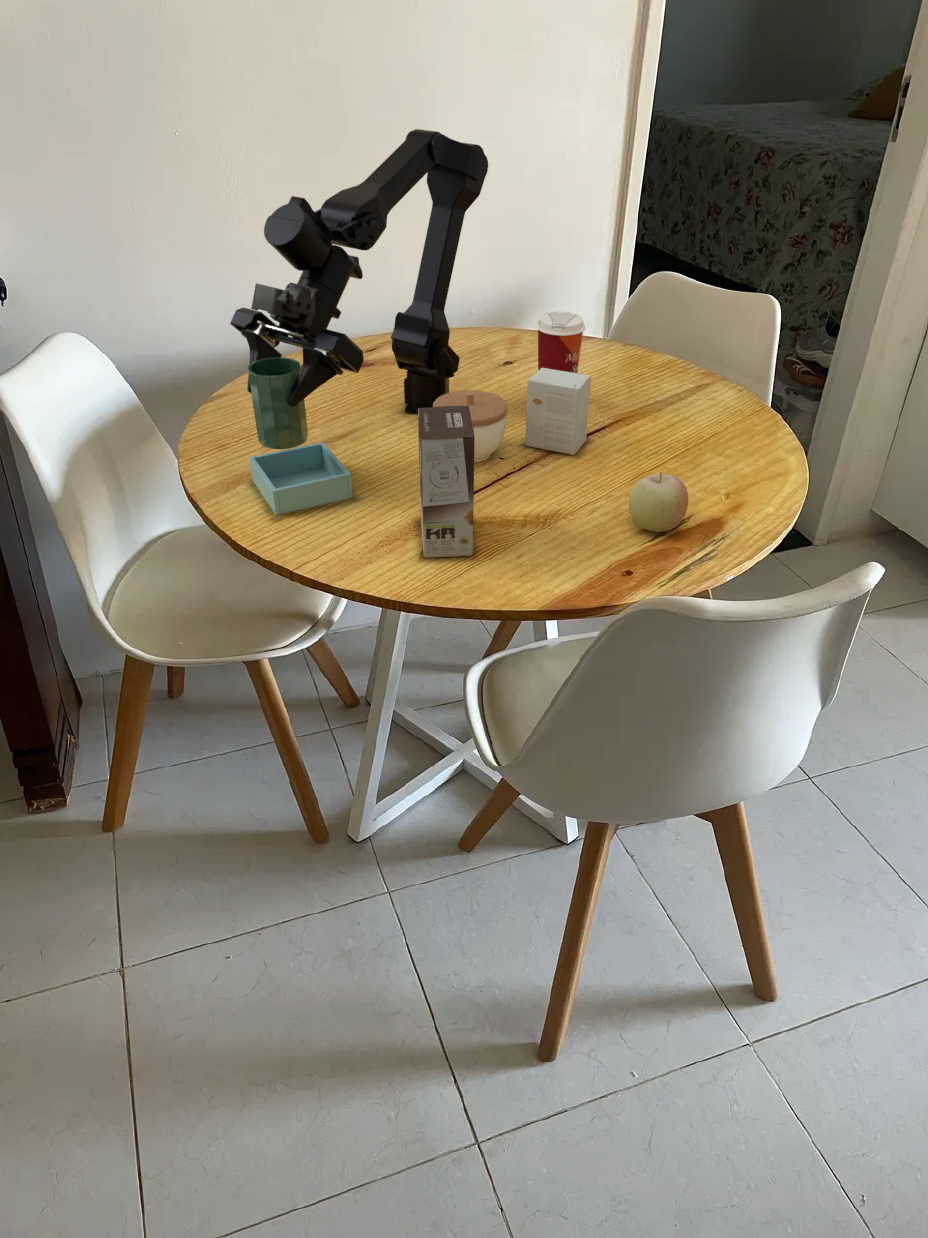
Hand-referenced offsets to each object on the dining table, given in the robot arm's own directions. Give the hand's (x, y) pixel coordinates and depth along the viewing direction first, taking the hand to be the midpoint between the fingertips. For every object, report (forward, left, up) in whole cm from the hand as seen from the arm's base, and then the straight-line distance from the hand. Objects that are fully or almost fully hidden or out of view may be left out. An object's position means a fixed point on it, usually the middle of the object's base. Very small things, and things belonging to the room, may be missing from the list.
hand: (270, 398), depth 119 cm
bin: (-3, 0, -13) cm, 14 cm away
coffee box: (-25, +7, -14) cm, 29 cm away
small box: (-35, -23, -14) cm, 44 cm away
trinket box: (-23, -17, -14) cm, 32 cm away
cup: (-1, -1, -6) cm, 6 cm away
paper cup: (-33, -38, -14) cm, 52 cm away
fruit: (-51, -2, -14) cm, 53 cm away
